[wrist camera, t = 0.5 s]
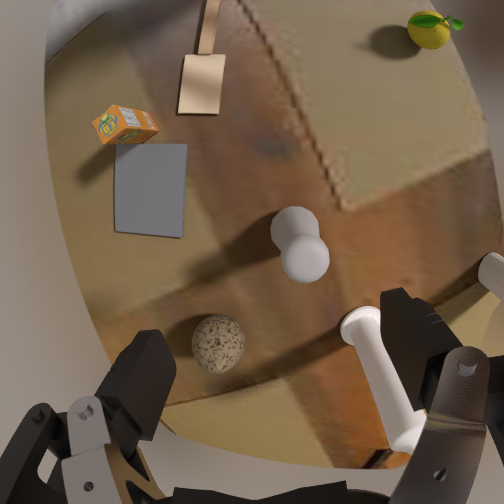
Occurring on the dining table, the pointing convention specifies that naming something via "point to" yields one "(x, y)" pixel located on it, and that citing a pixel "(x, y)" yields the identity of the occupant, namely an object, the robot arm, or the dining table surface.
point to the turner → (203, 70)
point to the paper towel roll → (492, 274)
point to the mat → (150, 188)
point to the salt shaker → (299, 244)
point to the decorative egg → (218, 343)
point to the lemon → (431, 29)
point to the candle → (383, 379)
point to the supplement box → (124, 126)
